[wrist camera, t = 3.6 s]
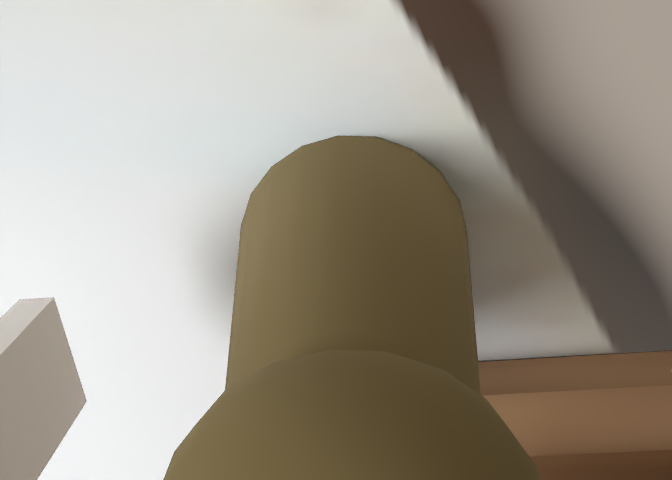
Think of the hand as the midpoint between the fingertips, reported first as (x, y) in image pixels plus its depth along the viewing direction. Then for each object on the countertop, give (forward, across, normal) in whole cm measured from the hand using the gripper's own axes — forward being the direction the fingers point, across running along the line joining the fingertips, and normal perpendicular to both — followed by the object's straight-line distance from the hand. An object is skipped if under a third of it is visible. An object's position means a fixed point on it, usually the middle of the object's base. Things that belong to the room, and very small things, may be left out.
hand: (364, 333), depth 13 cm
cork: (+4, 0, 0) cm, 4 cm away
